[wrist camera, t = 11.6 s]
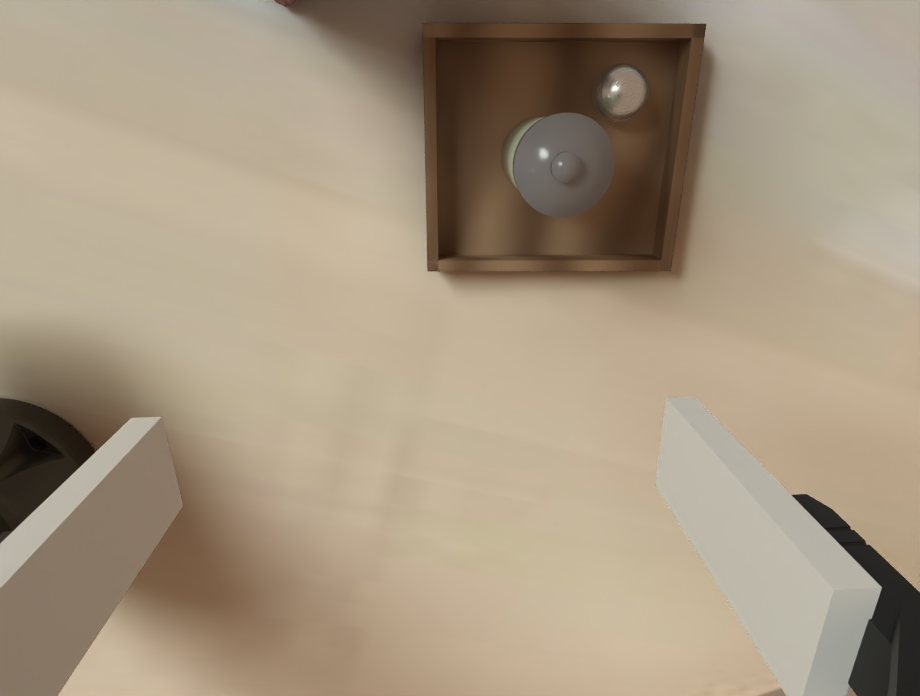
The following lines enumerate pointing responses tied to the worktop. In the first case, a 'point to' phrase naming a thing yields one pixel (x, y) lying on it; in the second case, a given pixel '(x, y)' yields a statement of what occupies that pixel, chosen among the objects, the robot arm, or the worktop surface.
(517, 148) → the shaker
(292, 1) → the bottle
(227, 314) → the worktop surface
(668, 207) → the tray
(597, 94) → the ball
